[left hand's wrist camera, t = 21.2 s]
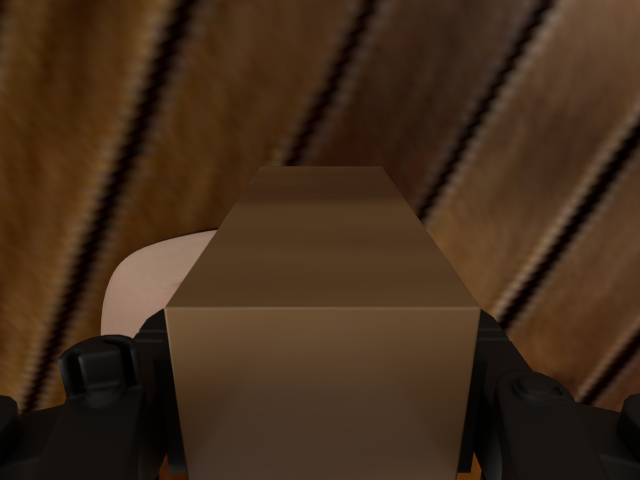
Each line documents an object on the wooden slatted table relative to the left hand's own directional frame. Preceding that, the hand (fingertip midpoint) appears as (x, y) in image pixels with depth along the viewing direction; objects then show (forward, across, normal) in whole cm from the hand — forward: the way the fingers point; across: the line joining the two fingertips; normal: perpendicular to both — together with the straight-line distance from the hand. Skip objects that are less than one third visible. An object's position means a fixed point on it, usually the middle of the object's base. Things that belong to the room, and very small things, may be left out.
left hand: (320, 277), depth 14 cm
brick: (+3, 0, 0) cm, 3 cm away
